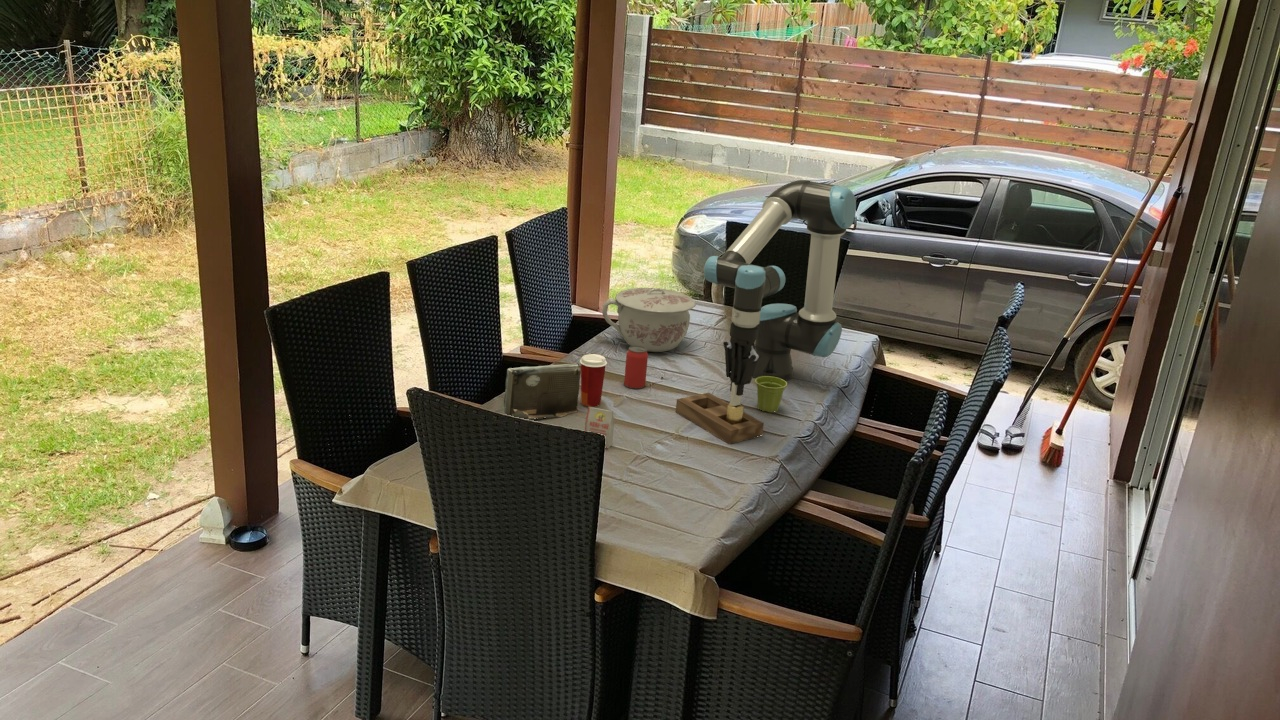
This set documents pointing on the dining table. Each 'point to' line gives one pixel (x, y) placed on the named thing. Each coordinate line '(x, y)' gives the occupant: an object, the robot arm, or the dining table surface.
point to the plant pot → (769, 392)
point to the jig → (717, 418)
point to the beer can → (636, 367)
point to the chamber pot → (651, 317)
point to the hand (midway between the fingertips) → (735, 404)
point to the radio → (542, 391)
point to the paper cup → (592, 379)
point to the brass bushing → (734, 414)
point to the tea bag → (600, 423)
